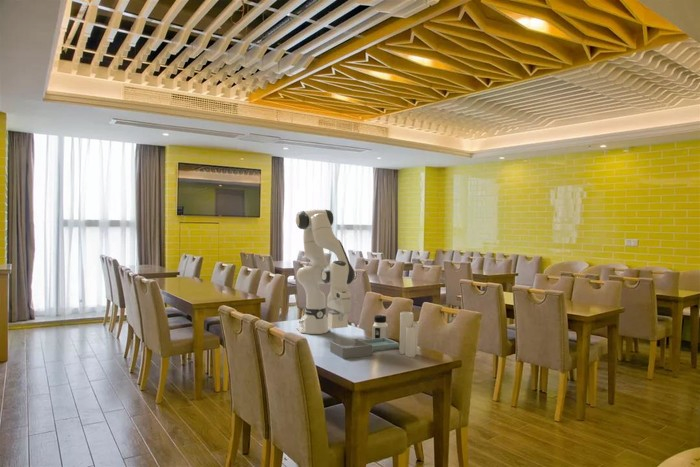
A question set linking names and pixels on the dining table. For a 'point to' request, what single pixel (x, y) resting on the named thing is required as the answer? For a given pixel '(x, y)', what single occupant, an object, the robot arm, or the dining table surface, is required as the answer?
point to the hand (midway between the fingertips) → (337, 319)
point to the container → (379, 327)
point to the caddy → (337, 320)
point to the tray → (381, 344)
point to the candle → (408, 334)
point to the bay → (351, 349)
